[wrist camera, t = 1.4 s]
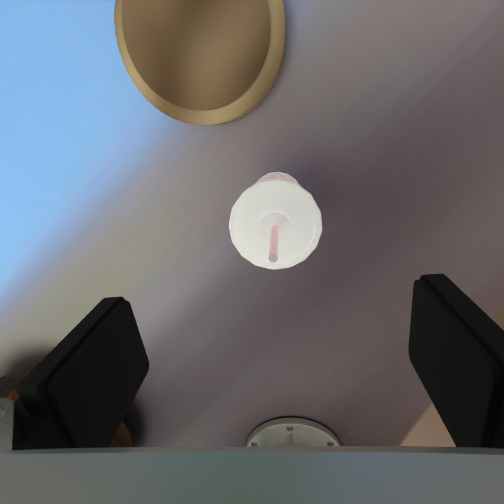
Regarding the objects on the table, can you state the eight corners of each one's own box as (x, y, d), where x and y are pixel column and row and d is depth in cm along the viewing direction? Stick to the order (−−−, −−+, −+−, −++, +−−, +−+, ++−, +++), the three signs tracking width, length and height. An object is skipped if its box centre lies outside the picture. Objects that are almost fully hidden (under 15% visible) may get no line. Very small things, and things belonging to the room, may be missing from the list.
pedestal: (312, -13, 23) (318, -40, 19) (249, 147, 27) (244, 151, 23) (155, -91, 22) (130, -135, 18) (118, 89, 26) (91, 83, 23)
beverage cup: (306, 230, 30) (326, 314, 17) (242, 226, 30) (214, 305, 17) (314, 164, 27) (343, 201, 14) (244, 161, 28) (212, 195, 15)
